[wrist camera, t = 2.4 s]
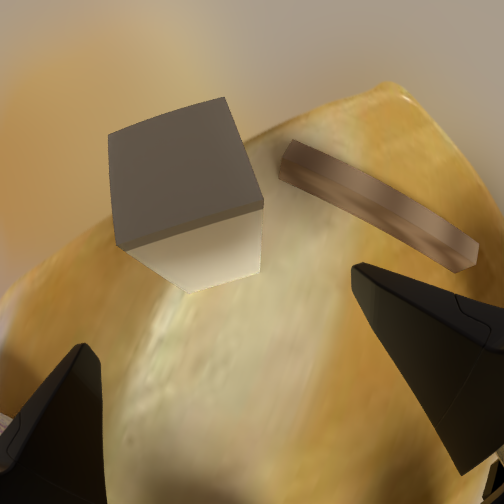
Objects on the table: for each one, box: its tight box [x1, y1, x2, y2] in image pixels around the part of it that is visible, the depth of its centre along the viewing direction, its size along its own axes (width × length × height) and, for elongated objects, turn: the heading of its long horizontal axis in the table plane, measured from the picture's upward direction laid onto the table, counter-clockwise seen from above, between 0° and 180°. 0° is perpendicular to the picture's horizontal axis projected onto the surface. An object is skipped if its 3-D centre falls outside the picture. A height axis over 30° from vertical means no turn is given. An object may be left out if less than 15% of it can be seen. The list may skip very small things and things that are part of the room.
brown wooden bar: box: [279, 140, 479, 273], centre depth 21 cm, size 18×3×3 cm, turn 62°
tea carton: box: [108, 97, 264, 294], centre depth 16 cm, size 6×6×12 cm
